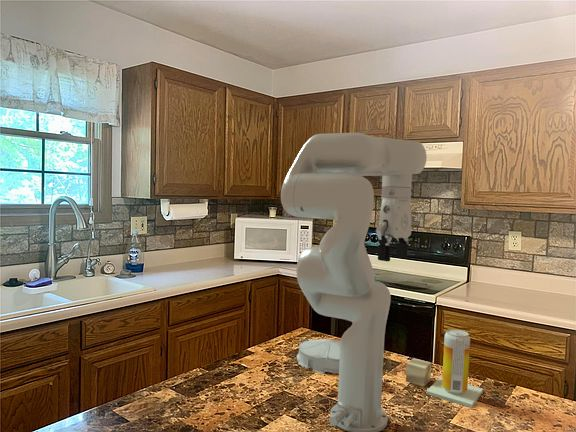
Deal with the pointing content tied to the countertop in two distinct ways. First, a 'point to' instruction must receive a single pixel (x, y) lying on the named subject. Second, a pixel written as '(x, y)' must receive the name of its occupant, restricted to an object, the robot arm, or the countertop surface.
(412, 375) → the maple block
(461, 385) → the beer can
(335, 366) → the food container
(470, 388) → the sage mat
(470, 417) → the countertop surface
